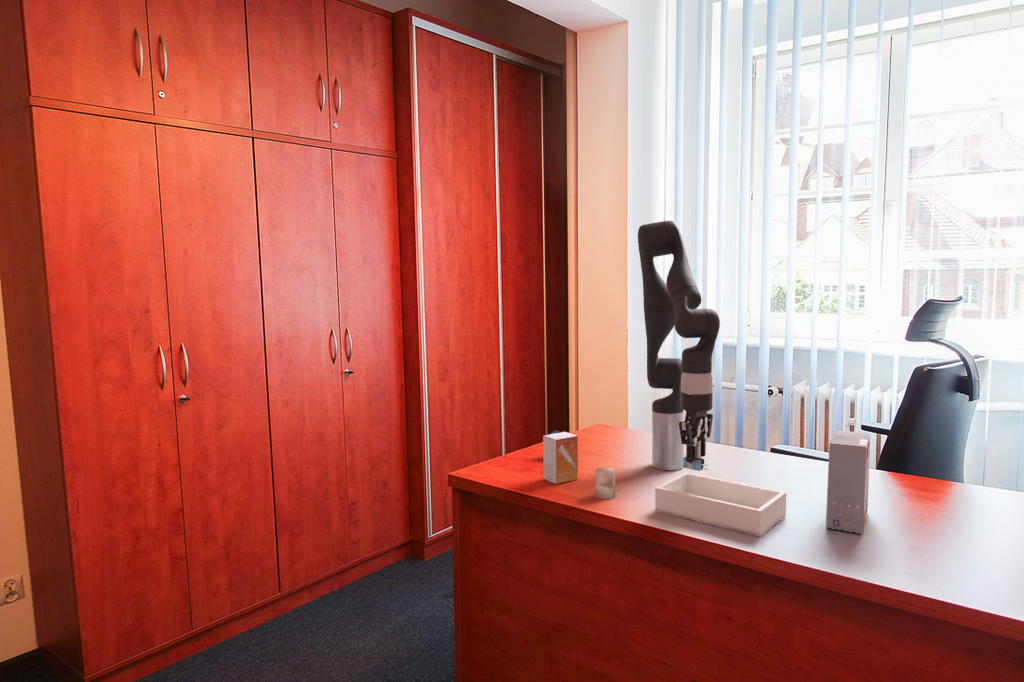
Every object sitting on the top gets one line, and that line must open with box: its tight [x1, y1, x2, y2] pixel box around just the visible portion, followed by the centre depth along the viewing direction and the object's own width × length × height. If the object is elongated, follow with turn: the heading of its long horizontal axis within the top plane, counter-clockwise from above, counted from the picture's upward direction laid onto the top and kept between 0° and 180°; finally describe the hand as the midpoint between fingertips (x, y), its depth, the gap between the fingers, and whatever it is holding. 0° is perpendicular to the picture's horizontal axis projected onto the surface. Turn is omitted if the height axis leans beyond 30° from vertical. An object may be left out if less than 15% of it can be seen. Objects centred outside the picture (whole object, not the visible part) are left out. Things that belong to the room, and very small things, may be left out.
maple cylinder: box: [595, 467, 616, 500], centre depth 172 cm, size 5×5×7 cm
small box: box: [542, 431, 579, 485], centre depth 187 cm, size 8×6×13 cm
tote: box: [654, 472, 787, 538], centre depth 157 cm, size 16×26×6 cm, turn 48°
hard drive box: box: [825, 429, 872, 534], centre depth 150 cm, size 16×8×20 cm, turn 148°
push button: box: [683, 430, 710, 472], centre depth 160 cm, size 7×5×10 cm
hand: (696, 457), depth 160 cm, fingers closed on push button, 4 cm apart
